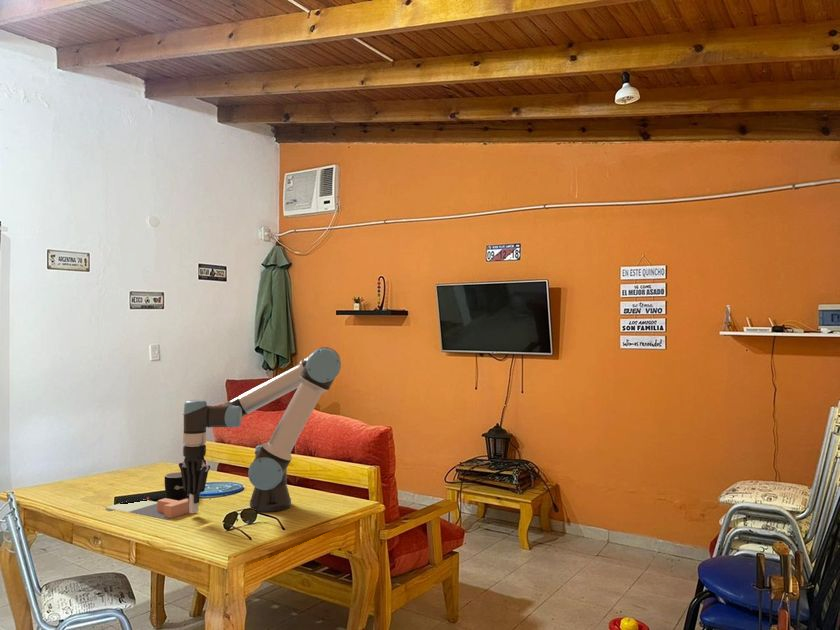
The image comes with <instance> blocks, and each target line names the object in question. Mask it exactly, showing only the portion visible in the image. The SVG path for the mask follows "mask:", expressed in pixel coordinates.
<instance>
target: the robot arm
mask: <svg viewBox="0 0 840 630" xmlns="http://www.w3.org/2000/svg"><path fill="white" fill-rule="evenodd" d="M341 367H342V361H341V358H340V355H339V354H338V352H337V351H336V350H334V349H333V348H331V347H319V348H317V349H314V351H312V352H311V353H310V354H309V355H308V356H306V357H305V358H303V359H301V360H300V361H299V363H298V364H296V366H294V367H292V368H289V369H287V370H286V371H284V372H282V373H280V374H279V375H276V376H274V377H273V378H271V379H269V380H266V381H265V382H263V383H260V384H259V385H257V386H255V387H253V388H251V389H250V390H248V391H246V392H244V393H242V394H240V395H238V396H236V397H234V398H232V399H231V400H227V401H226V402H224V403H223V404H222V405H208V404H207V400H205V399H190V400H189V399H188V400H186V401H185V402H184V405H183V407H184V408H183V413H182V415H183V436H182V437H183V442H182V444H183V447H182V454H183V455H182V456H183V457H184V459H183V461H182V462H180V463H178V467H179V470H180V472H181V475H182V482H183V488H184V491H187V492H188V494H187V499H188V502H189V513H188V514H194V513H198V512H199V503H200V494H201V493H204V492H205V489H206V484H207V479H208V474H209V472H210V470H211V465H207V464H206V460H205V456H206V455H207V445H206V444H205V443H206V442H207V428H229V429H231V428H239V427H240V426H241V425H242V421H243V417H245V416H247V415H249V414H251V413H252V412H255V411H256V410H258V409H260V408H263V407H264V406H266V405H267V404H269V403H271V402H273V401H275V400H278V399H279V398H280V397H283V396H285V395H287V394H288V393H291V392H292V391H295V392H294V394H293V396H292V398H291V399H290V402H289V403H288V405H287V407H286V409H285V411H284V412H283V415H282V416H281V418H280V420H279V422H278V424H277V425H276V427H275V428H274V431H273V433H272V434H271V437H270V438H269V441H267V442H264V443H262V444H260V445H257V446H255V449H254V450H255V451H254V456H255V457H254V459H253V460H252V462H251V463H250V464H249V467H248V475H247V476H248V479H249V481H250V483H251V485H252V486H253V487H254V488H253V491H252V494H251V497H250V500H249V508H254V509H256V510H257V511H256V512H261V513H262V512H263V513H270V512H280V511H285V510H288V509H289V508H291V507H292V498H291V497H290V492H289V489H288V486H287V485H288V483H287V481H288V478H287V477H288V476H287V475H288V470H287V469H288V467H289V465H290V463H291V461H292V459H293V458H292V451H293V449H294V448H295V447H294V446H295V445H296V443H297V441H298V439H299V437H300V435H301V434H302V432H303V430H304V429H305V426H306V424H307V422H308V420H309V419H310V417H311V415H312V413H313V411H314V410H315V407H316V406H317V404H318V402H319V400H320V398H321V396H322V394H323V393H326V392H328V391H329V390H330V389H331V387H332V385H333V382H334V381H335V379H336V378H337V376H338V375H339V373H340V371H341Z"/></svg>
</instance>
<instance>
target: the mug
mask: <svg viewBox="0 0 840 630" xmlns="http://www.w3.org/2000/svg"><path fill="white" fill-rule="evenodd" d="M164 491H165V498H167V499H172V500H178V501H180V500H183V499H188V492H187V491H184V488H183V482H182V475H181V471H178V472H176V471H175V472H170V473H167V474H165V475H164Z"/></svg>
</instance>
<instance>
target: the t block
mask: <svg viewBox="0 0 840 630" xmlns="http://www.w3.org/2000/svg"><path fill="white" fill-rule="evenodd" d="M156 502H157V512H161V513H164V517H167V518H173V517H176V516H179V515H182V514H185V513H188V512H189V502H188V498H186V499H183V500H180V501H178V500H172V499H167V498H166V497H164V498H161V499H158V500H157V501H156ZM188 514H189V513H188ZM185 515H186V514H185ZM182 516H183V515H182ZM179 517H180V516H179ZM176 518H177V517H176ZM173 519H174V518H173Z"/></svg>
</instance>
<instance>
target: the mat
mask: <svg viewBox="0 0 840 630" xmlns="http://www.w3.org/2000/svg"><path fill="white" fill-rule="evenodd" d="M146 500H147V501H140V502H134V503H128V504H120V503H117V504H113V505H109V506H106V507H105V510H106V511H110V512H113V511H121V512H125V513H130V514H135V515H140V516H145V517H148V518H149V517H150V518H154V519H161V520H165V521H170V520H172V519H176V518H178V517H182V516H184V515H189V514H190V513H189V512H188V513H185V514H182V515H179V516H176V517H173V518H167V517H164V513H161V512H157V501H153V500H148V499H146Z"/></svg>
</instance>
